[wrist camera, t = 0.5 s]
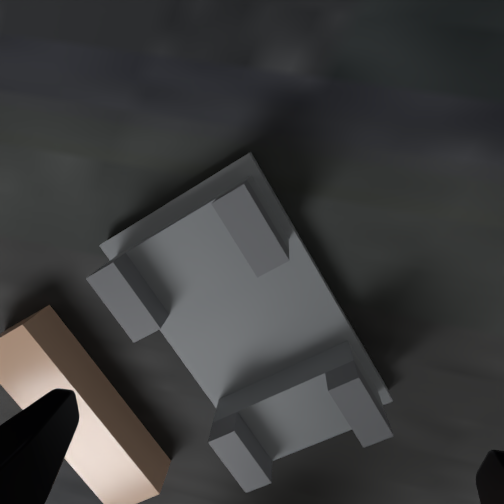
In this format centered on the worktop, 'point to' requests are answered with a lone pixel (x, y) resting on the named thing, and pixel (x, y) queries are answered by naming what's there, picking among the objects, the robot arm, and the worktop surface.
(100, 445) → the clay bar
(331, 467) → the worktop surface
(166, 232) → the grey cradle stand
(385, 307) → the worktop surface
